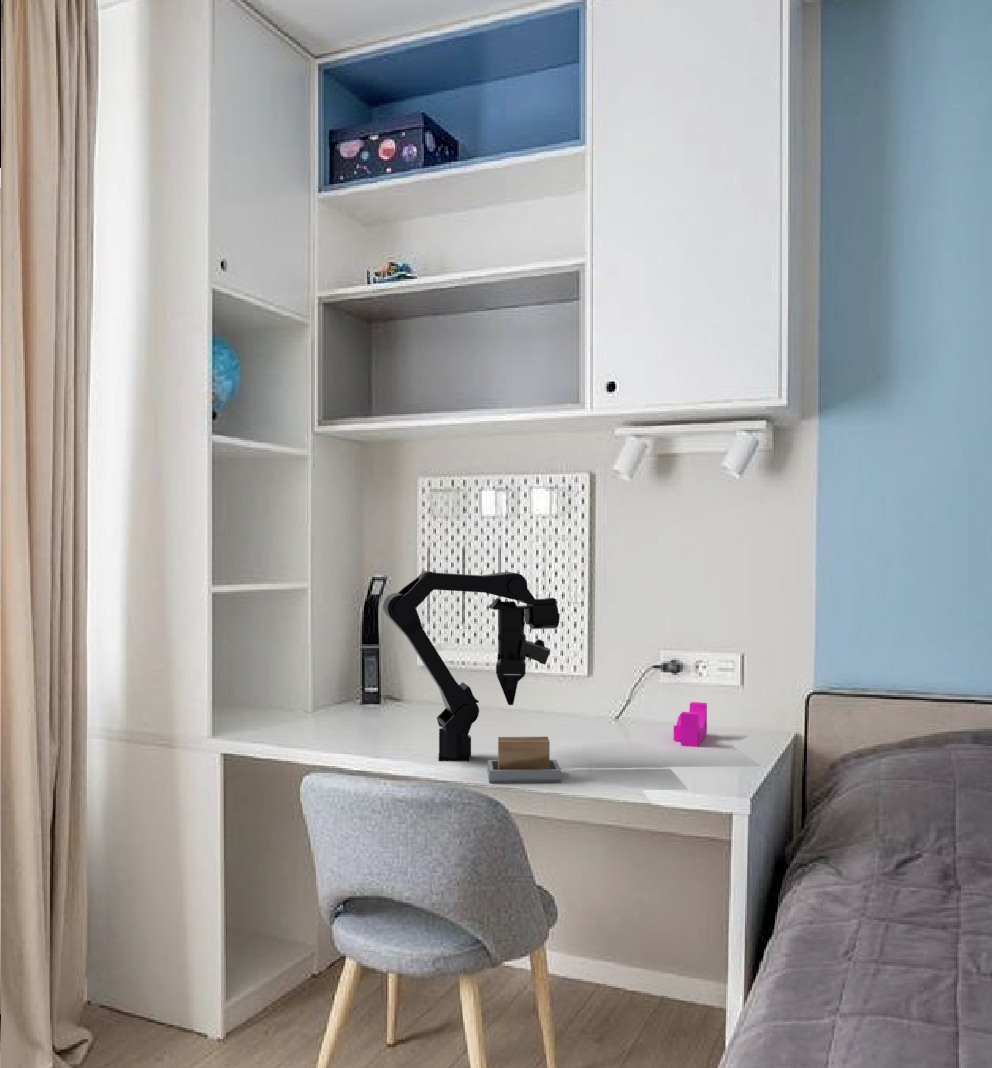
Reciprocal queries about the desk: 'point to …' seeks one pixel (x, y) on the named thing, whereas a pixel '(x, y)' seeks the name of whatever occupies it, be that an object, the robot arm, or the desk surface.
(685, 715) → the toy block
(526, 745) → the walnut block
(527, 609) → the robot arm
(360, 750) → the desk surface
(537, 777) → the slot tray
